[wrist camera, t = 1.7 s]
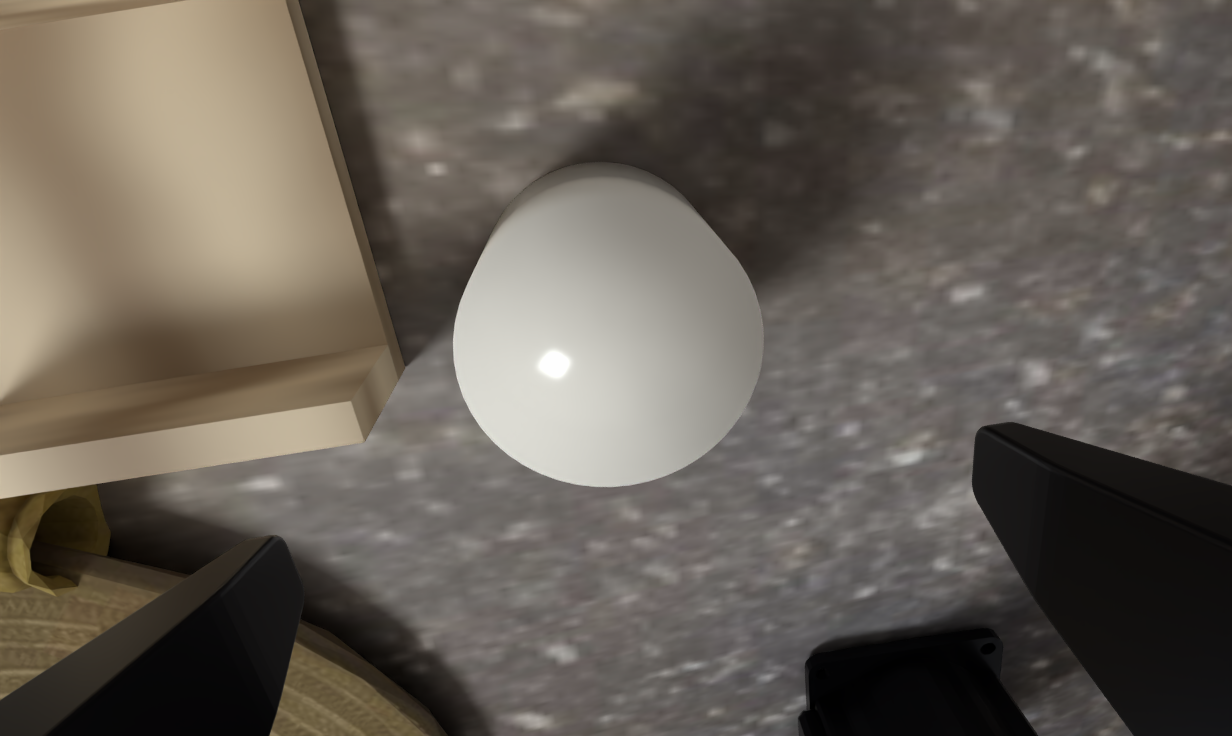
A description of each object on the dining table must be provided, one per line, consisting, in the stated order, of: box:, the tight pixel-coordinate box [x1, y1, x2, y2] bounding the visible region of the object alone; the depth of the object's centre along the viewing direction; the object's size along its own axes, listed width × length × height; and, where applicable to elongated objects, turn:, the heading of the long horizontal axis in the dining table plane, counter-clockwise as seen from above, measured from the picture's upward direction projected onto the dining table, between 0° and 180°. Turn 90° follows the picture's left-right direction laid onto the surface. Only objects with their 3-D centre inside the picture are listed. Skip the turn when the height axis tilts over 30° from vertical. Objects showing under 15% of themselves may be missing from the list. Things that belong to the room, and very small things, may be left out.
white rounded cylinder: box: [453, 162, 764, 487], centre depth 16 cm, size 6×6×5 cm
